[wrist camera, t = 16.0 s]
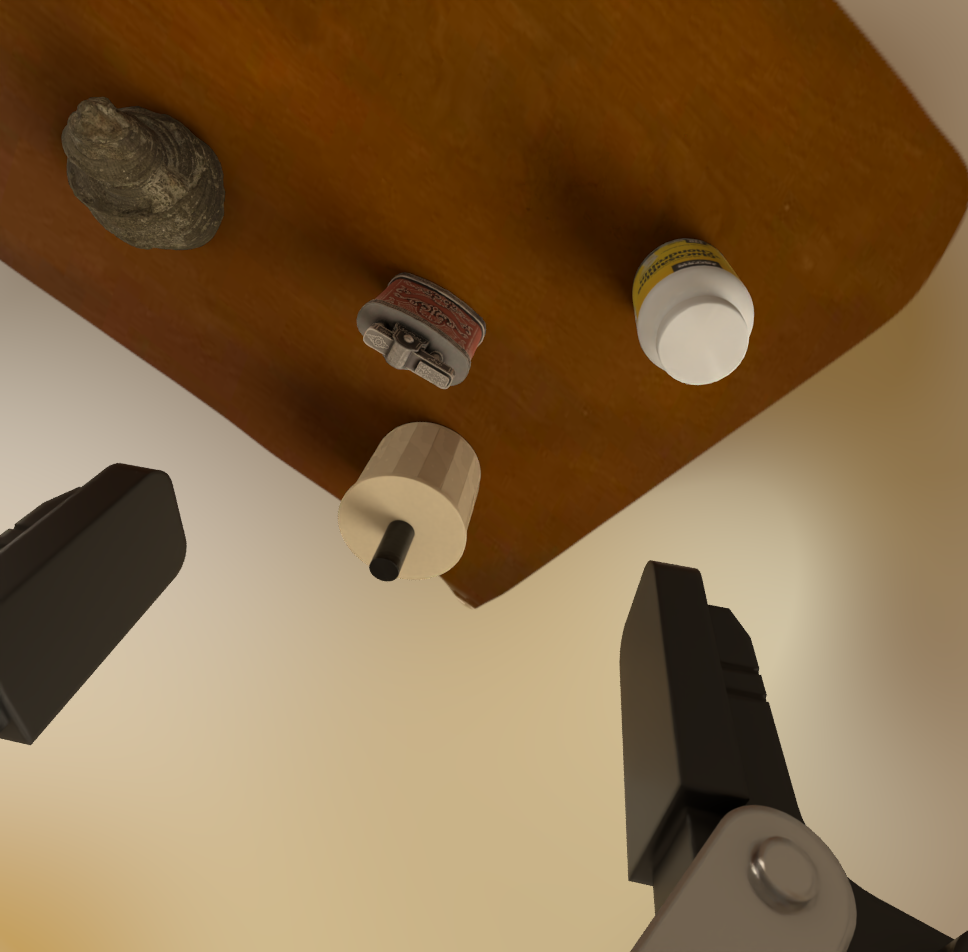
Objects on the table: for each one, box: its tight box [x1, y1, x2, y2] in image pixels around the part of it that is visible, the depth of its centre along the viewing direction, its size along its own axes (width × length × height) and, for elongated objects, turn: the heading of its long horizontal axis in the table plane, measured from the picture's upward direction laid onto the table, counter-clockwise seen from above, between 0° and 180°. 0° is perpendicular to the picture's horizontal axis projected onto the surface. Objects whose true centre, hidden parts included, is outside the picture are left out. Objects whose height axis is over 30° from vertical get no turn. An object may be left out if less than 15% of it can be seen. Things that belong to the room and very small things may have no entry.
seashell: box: [62, 97, 225, 250], centre depth 39 cm, size 11×12×10 cm
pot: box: [357, 422, 481, 530], centre depth 49 cm, size 10×10×8 cm
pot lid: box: [338, 473, 467, 581], centre depth 44 cm, size 10×10×6 cm
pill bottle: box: [632, 239, 754, 385], centre depth 36 cm, size 6×6×12 cm
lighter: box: [357, 272, 486, 389], centre depth 41 cm, size 8×3×10 cm, turn 60°
